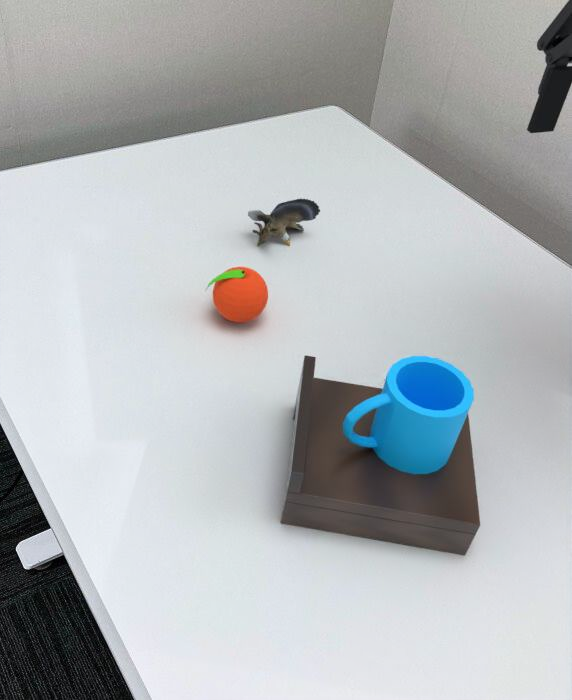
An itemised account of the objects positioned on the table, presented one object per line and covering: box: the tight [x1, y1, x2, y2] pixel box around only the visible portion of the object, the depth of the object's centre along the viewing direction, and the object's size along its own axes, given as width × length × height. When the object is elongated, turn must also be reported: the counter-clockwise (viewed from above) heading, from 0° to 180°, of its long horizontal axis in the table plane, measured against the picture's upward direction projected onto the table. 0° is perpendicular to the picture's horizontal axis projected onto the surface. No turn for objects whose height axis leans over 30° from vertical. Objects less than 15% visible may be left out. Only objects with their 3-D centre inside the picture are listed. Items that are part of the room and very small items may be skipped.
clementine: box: [204, 266, 269, 323], centre depth 96 cm, size 8×7×7 cm
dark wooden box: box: [280, 355, 481, 556], centre depth 78 cm, size 18×16×8 cm
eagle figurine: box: [247, 198, 321, 247], centre depth 110 cm, size 8×7×9 cm
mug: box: [343, 355, 475, 474], centre depth 75 cm, size 12×8×8 cm
